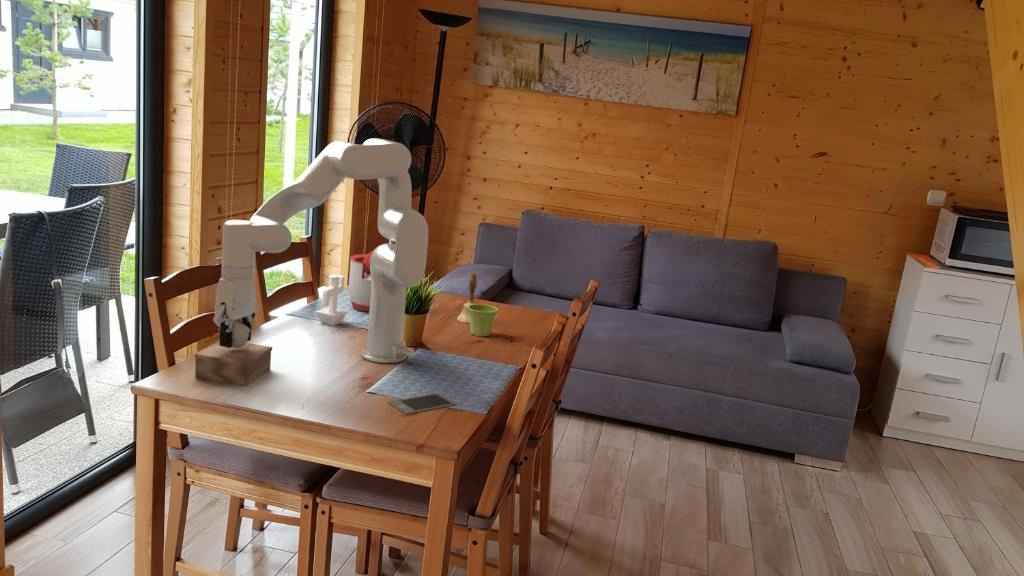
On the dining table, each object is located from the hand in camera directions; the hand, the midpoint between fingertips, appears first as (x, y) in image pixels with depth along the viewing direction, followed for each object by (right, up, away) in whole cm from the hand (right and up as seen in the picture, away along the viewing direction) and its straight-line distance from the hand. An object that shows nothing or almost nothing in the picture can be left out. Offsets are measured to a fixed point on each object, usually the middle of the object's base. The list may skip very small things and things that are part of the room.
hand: (235, 342), depth 200 cm
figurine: (+12, +2, +53) cm, 55 cm away
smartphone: (+46, -15, -3) cm, 49 cm away
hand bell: (+53, +2, +75) cm, 92 cm away
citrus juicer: (+20, +6, +75) cm, 77 cm away
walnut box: (-1, -8, +2) cm, 8 cm away
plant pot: (+57, -2, +60) cm, 83 cm away
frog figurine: (0, -1, 0) cm, 1 cm away
